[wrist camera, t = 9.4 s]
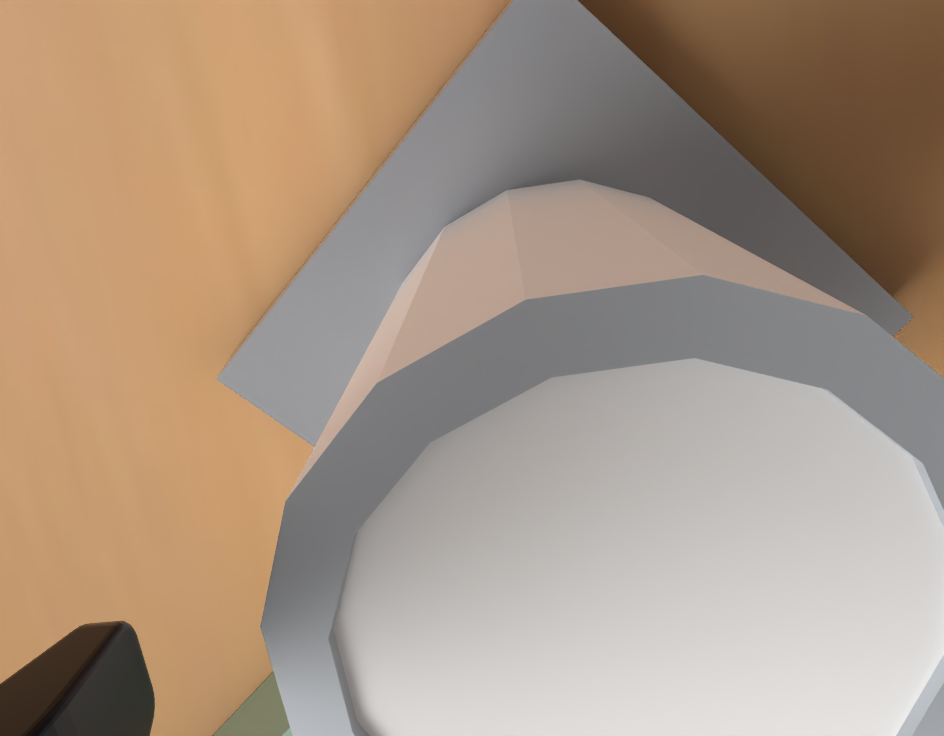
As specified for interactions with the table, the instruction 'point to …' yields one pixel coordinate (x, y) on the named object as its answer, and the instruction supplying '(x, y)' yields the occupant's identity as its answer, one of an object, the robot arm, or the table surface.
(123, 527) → the table surface
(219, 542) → the table surface
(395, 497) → the white cup
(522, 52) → the slate tile
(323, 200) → the table surface
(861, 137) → the table surface
